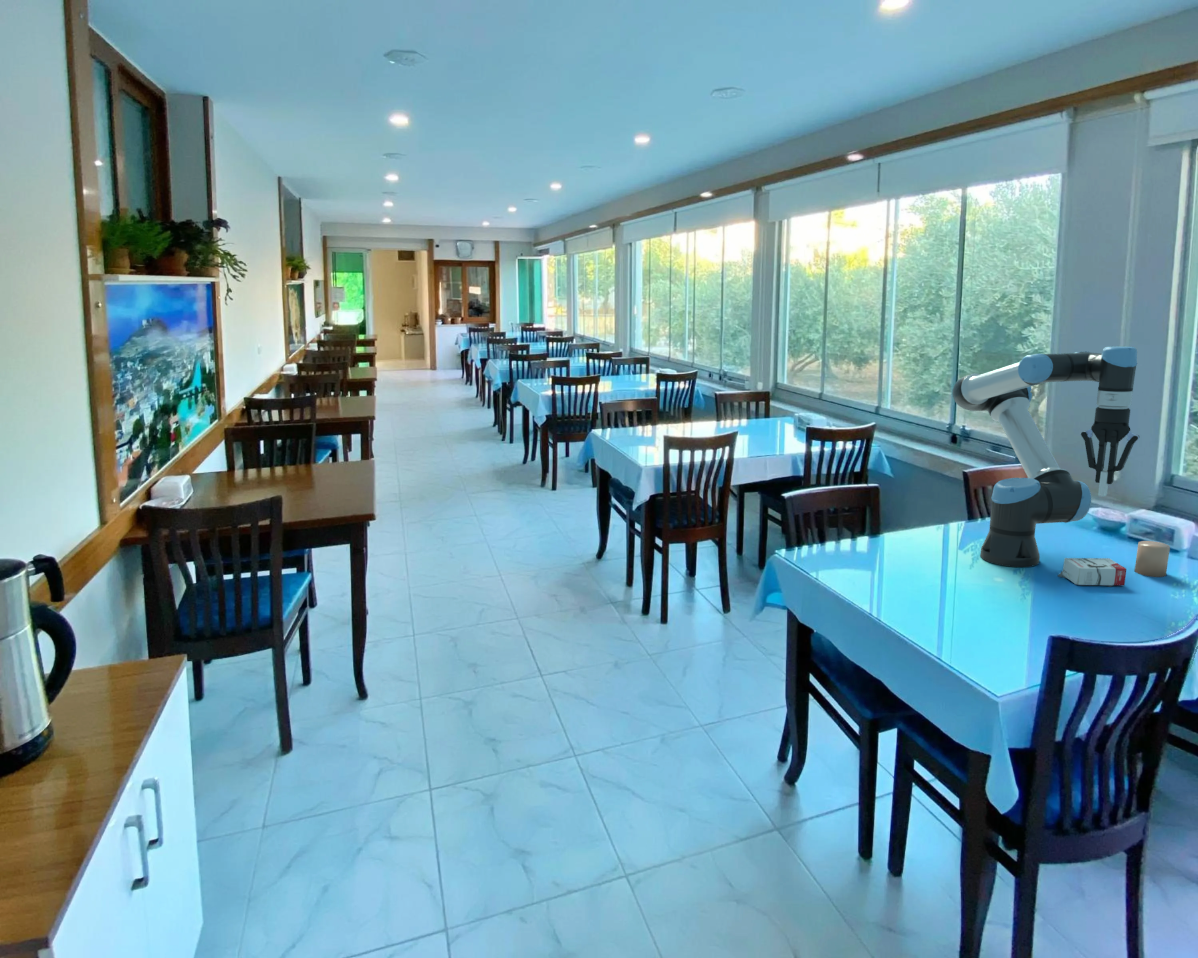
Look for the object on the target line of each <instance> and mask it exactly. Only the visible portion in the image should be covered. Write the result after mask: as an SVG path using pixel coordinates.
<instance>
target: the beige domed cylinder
mask: <svg viewBox="0 0 1198 958" xmlns="http://www.w3.org/2000/svg"><path fill="white" fill-rule="evenodd" d="M1170 551H1171V546H1170V545H1169V544H1166V543H1164V542H1158V541H1153V540H1152V541H1151V540H1141V541H1138V544H1137V550H1136V558H1135V566H1134V572H1135V573H1137V574H1139V575H1142V576H1145V577H1152V578H1165V577H1166V576H1167V571H1168V564H1169V563H1168V562H1169V557H1170Z"/></svg>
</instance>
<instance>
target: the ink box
mask: <svg viewBox="0 0 1198 958" xmlns="http://www.w3.org/2000/svg"><path fill="white" fill-rule="evenodd" d="M1062 571H1063V572H1062ZM1062 571H1061V572H1062V574H1063V576H1065V577H1066V578H1065V579H1068V581H1071V582H1072V583H1074V585H1078V586H1104V585H1112V586H1125V583H1126V575H1127V568H1126V567H1124V566H1122V565H1121V564H1119V563H1118V562H1116V561H1114V560H1113V559H1111V558H1108V557H1105V558H1104V557H1103V558H1102V557H1096V558H1095V557H1094V558H1093V557H1086V558H1085V557H1084V558H1083V557H1078V558H1077V557H1064V559H1063V567H1062Z"/></svg>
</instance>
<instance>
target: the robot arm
mask: <svg viewBox="0 0 1198 958" xmlns="http://www.w3.org/2000/svg"><path fill="white" fill-rule="evenodd" d="M1137 359H1138V350H1137V348H1136V347H1134V346H1122V345H1120V346H1119V345H1118V346H1116V345H1115V346H1113V345H1111V346H1105V347H1104V348H1103V349H1102V352H1101V353H1100V352H1091V351H1075V352H1069V353H1068V352H1067V353H1066V352H1065V353H1034V354H1028V355H1025V356H1024V357H1022V359H1021V360H1020V361H1019V362H1015V363H1013V364H1012V363H1011V364H1010V365H1006V366H1003V367H1000V368H997V369H994V370H991V371H987V372H984V373H981V374H980V373H977V372H976V373H971V374H966V375H964V376H962V377H960V378H959V379H958V380H957V381H955V383H954V384H953V386H952V387H953V388H952V398H953V401H954V402H955V403H956V405H957V406H959V407H960V408H961V409H964V410H966V411H973V412H978V411H979V412H980V411H982V412H984V411H985V412H988V414H989V416H990V418H991V420H992V421H995V422H996V423H997V422H998V423H999V424H1000V425H1001V428H1002V429H1003V431H1004V434H1005V436H1006V437H1007V440H1008V442H1009V443H1010V445H1011V447H1012V449H1013V451H1014V453H1015V455H1016V457H1017V459H1018V461H1019V463H1020V464H1021V466H1022V468H1023V471H1024V473H1025V474H1026V476H1027V477H1009V478H1005V479H1001V480H999V481H998V482H996V483H995V484H994V485H993V489H992V495H991V508H990V519H989V520H990V521H989V530H988V534H987V535H986V537H985V539H984V541H983V542H982V545H981V547H980V555H979V556H980V558H981V559H983V560H984V561H986V562H989V563H992V564H995V565H1000V566H1004V567H1012V568H1029V567H1035V566H1038V564H1039V563H1040V558H1041V557H1040V555H1041V554H1040V551H1039V547H1038V544H1037V541H1036V540H1037V539H1036V537H1035V535H1036V526H1037V525H1038V524H1052V523H1054V524H1055V523H1056V524H1057V523H1065V524H1067V523H1070V522H1077V521H1080V520H1082V519H1084V518H1085V517H1086V515H1088V513H1089V511H1090V508H1091V504H1092V494H1091V489H1090V488H1089V486H1088V485H1087V484H1086V483H1085V482H1083V481H1080V480H1078V479H1077V480H1074V479H1073V478H1072V477H1073V476H1072V475H1071V474H1070V471H1068V470H1067V469H1065V468H1061V467H1060V465H1059V464H1058V462H1057V460H1056V459H1055V458H1056V457H1054V454H1053V453H1052V452H1051V449H1050V448H1049V446H1048V444H1047V442H1046V440H1045V438H1044V437H1043V435H1042V433H1041V431H1040V429H1039V428H1038V426H1037V424H1036V422H1035V420H1034V419H1033V416H1032V415H1031V413H1030V410H1029V408H1030V405H1031V401H1032V398H1033V393H1032V392H1031V391H1032V387H1034V386H1038V385H1042V384H1045V383H1054V382H1057V383H1058V382H1061V383H1062V382H1082V381H1083V382H1097V383H1098V388H1097V397H1096V404H1095V405H1097V407H1096V408H1095V413H1094V419H1093V420H1094V422H1093V423H1092V425H1091V428H1089V429H1087V430H1084V431H1082V432H1081V434H1080V436H1081V438H1082V439H1083V442H1084V445H1085V452H1086V458H1087V465H1088V468H1090V469H1093V470H1095V480H1094V481H1095V483H1097V484H1099V485H1098V492H1097V494H1098V495H1097V496H1098V497H1106V496H1107V495H1108V489H1109V488H1108V487H1109V485H1112V484H1113V482H1114V477H1115V473H1116V472H1118V471H1119V472H1120V471H1122V470H1123V469H1124V468H1125V465H1126V462H1127V461H1128V459H1129V457H1130V454H1131V451H1132V449H1133V447H1134V445H1135V443H1137V441H1138V440H1139V439H1140V435H1139V434H1135V433H1134V432H1132V430H1131V427H1130V424H1129V423H1130V416H1131V409H1130V407H1131V406H1132V400H1133V393H1134V385H1135V384H1134V383H1135V377H1136V371H1137V365H1138V360H1137ZM1093 436H1095V438H1097V440H1098V452H1097V460H1096V455H1095V447H1094V443H1093ZM1126 436H1127V438H1126V441H1127V443H1126V444H1125V446H1124V449H1123V451H1122V454H1121V456H1120V458H1119V461H1118V462H1117V457H1118V448H1119V443H1120V442H1121V441H1122V440H1123V439H1125V437H1126ZM1108 443H1109V447H1110V449H1109V457H1108V463H1107V464H1108V466H1107V470H1106V469H1105V459H1106V451H1107V445H1108ZM1116 464H1117V465H1116ZM1104 469H1105V470H1104Z"/></svg>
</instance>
